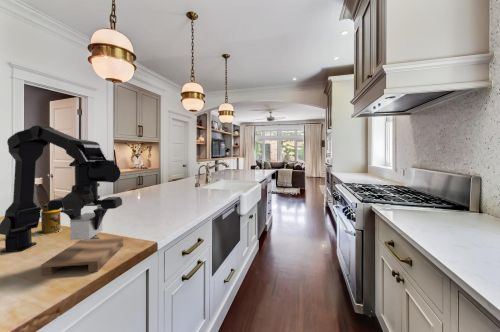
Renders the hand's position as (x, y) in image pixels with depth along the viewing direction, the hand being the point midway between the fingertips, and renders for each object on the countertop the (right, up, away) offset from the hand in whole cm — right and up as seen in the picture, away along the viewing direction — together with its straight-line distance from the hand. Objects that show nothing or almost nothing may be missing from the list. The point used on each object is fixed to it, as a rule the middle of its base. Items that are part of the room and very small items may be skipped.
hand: (87, 229), depth 70 cm
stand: (0, -9, 0) cm, 9 cm away
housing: (0, -2, 0) cm, 2 cm away
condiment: (-34, -8, +24) cm, 43 cm away
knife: (-13, -9, +19) cm, 25 cm away
